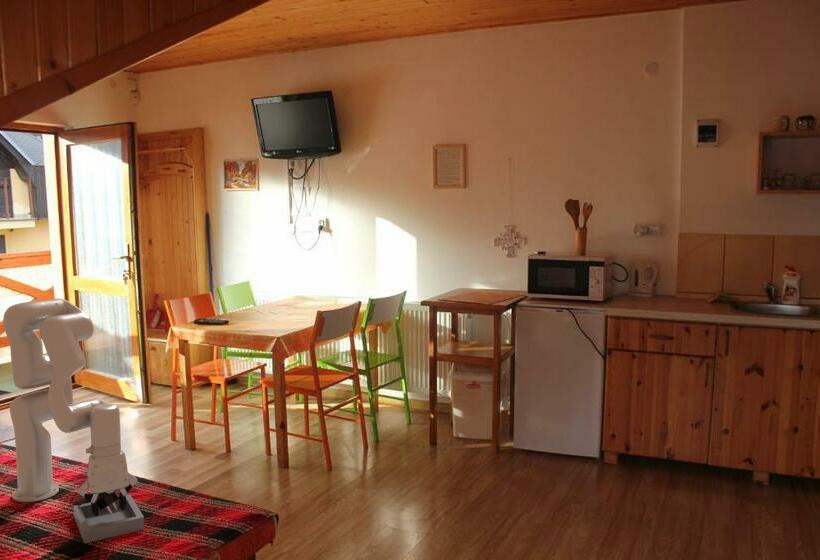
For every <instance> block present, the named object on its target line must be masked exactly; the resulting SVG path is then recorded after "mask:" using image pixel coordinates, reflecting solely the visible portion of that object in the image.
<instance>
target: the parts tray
mask: <svg viewBox="0 0 820 560" xmlns="http://www.w3.org/2000/svg"><path fill="white" fill-rule="evenodd" d="M115 504H116V505H117V507H118V510H117V511H116V510H115V508H114V506H113V505H112V504H111V505H109V507H110V509H111V510H112V512H113V514H112V515H110V513H109V511H108V510H107V508H104V509H102V510H100V509H99V507H98V516H95V514H94V513H92V511H91V502H88V503H86V504H85V503H84V504H82V505H80V506H78V504H77V505H73V518H74V521H75V524H76V526H77V528H78V531H79V533H80V536H81V539H82V541H83V543H84V544H88V543H93V542H96V541H101V540H105V539H109V538H114V537H117V536H122V535H125V534H131V533H134V532H140V531H143V530H145V517H144V515H143V513H142V511H141V510H140V508H139V506H138V505H137V503H136V501H135V500H134V498H133V497H132V494H130V493H129V494H127V496H126V506H124V510H123V511H122V510H121V509H120V506H119V499H118V500H116V501H115ZM92 541H93V542H92Z"/></svg>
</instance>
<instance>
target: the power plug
mask: <svg viewBox="0 0 820 560" xmlns="http://www.w3.org/2000/svg"><path fill="white" fill-rule="evenodd" d="M118 499H119V494H118V493H117V490H114V491H109V492H104V493H99V494H98V496H97V502H98V507H99V509H100V510H102V509H104V508H107V510H108V511H109V513H110V515H112V514H113V512H112V510H111V509H110V507H109V505H111V504H112V505H113V506H114V508H115V510H116V511H117V510H118V507H117V505H116V504H115V501H116V500H118ZM86 503H91V501H89V500H87V499H86V498H84V499H83V501H81V502H79V503H78V504H77V505H78V506H80V505H82V504H86Z"/></svg>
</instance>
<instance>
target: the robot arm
mask: <svg viewBox="0 0 820 560" xmlns="http://www.w3.org/2000/svg"><path fill="white" fill-rule="evenodd" d="M2 319H3V320H2V321H3V322H2V324H3V328H4V331H5V335H6V337H7V339H8V343H9V348H10V361H11V371H12V372H11V373H12V380H13V383H14V385H15V387H17V388H18V389H19V390H30V389H35V388H40V387H45V386H48V387H49V388H44V389H42V390H35V391H32V392H28V393H24V394H21V395H18V396H17V397H15V398H14V399H13V400H12V401H11V403H10V404H9V414H10V418H11V422H12V425H13V427H12V428H13V431H14V433H13V434H14V443H15V444H14V445H15V460H16V477H17V489H15V490H13V492H12V494H11V495H12V499H13V500H14V501H16V502H20V503H33V502H39V501H42V500H47V499H49V498H51V497H53V496H55V495H57V494H58V492H59V490H60V485H59V484H57V483H55V482H54V479H53V476H54V475H53V457H52V437H51V433H50V432H49V430H48V429H47V428H46V427H44V425H43V423H45V422H47V421H48V422H49V421H51V420H53V421H54V423H55V425H56V427H57V428H58V430H60V431H61V432H63V433H65V434H71V433H74V432H79V431H81V430H85V429H89V428H90V429H89V430H90V446H89V447H88V448H85V454H90V455H89V456H88V463H87V478H86V480H85V481H84V482H83V483H82V484H81V485H80V486H79V488H78V489H77V490H76V492H77V493H78V495H80V496H82V497H83V498H84V499H87V500H89V501H91V502H90V503H91V511H92V513H94V514H95V516H98V502H97V496H98V494H99V493H104V492H109V491H114V490H115V491H120V493H119V494H118V496H119V506H120V509H121V510H122V511H123V510H124V506H126V496H127V495H128V493H129V492H130V491H131V490H132V488H133V486H136V484H137V482H138V481H139V480H138V478H137V477H136V476H134V475H133V474H131V472H129V470H128V468H129V467H128V463H127V457H126V453H125V451H124V450H122V440H121V436H122V435H121V416H120V408H119V406H118V405H117V404H115V403H108V402H107V401H106V400H105V399H102V398H99V397H97V398H96V397H95V398H91V399H87V400H82V401H79V402H75V403H74V395H73V394H74V393H73V382H72V376H74V375H76V374H77V373H79V372H80V371H81V370H83V368H85V367H86V364H87V361H86V358H85V355H84V352H83V350H82V348H81V345H80V343H79V342H81V341H88V340H89V339H91V338H92V336H93V335H94V332H95V331H94V330H95V329H94V328H95V327H94V324H93V321H92V319H91V318H90V316H89V315H88V314H87V313H86V312H85V311H84V310H82V309H81V308H79V307H78V306H76V305H75V304H73V303H71V302H70V301H69V300H66V299H64V298H51V299H43V300H41V299H40V300H33V301H25V302H24V301H23V302H19V303H16V304H13V305H11V306H8V308H7V309H6V310H5V311H4V314H3V317H2ZM37 330H38V331H39V334H40V336H39V334H38V333H37V332H36V331H37ZM43 346H44V348H45V351H46V353H44V348H43ZM87 489H88V490H89V492H88V491H86V490H87Z"/></svg>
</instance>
